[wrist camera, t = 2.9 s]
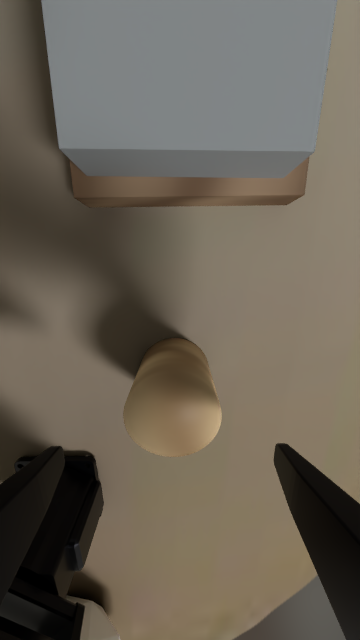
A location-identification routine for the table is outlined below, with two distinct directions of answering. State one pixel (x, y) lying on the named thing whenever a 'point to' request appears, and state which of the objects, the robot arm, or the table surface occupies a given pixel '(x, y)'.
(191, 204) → the tower base block
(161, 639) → the table surface
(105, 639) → the geodesic sphere
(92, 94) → the tower top block
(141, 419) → the tan rounded piece
